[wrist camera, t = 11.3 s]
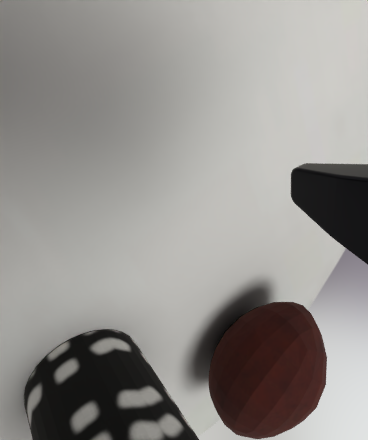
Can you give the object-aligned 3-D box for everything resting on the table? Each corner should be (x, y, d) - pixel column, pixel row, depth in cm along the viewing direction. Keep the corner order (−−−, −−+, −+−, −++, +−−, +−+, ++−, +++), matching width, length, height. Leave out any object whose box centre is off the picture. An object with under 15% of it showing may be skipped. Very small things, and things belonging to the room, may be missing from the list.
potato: (167, 378, 30) (236, 478, 23) (245, 266, 30) (338, 333, 23) (222, 387, 36) (290, 470, 29) (288, 293, 36) (372, 354, 29)
